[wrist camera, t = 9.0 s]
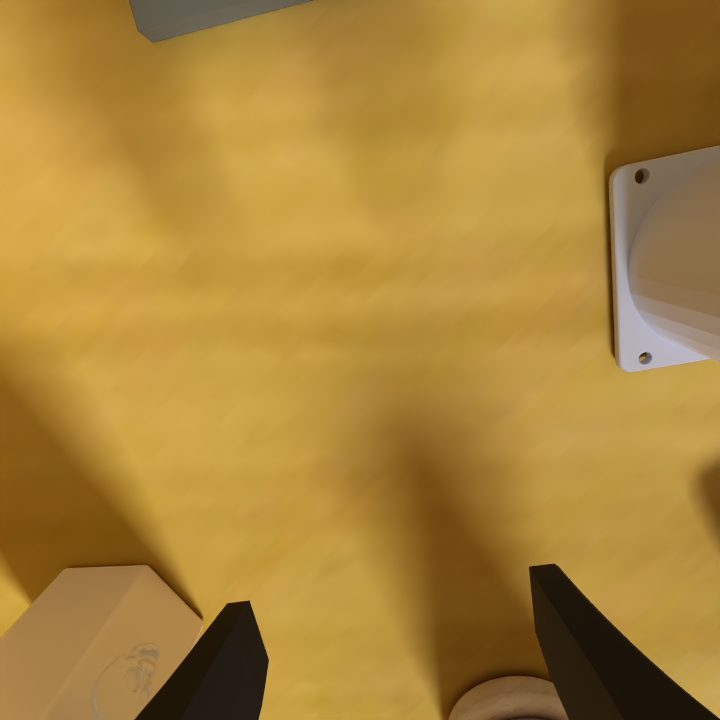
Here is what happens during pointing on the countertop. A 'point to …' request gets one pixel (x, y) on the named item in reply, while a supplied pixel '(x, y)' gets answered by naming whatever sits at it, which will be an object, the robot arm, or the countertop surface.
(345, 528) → the countertop surface
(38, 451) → the countertop surface
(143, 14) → the post board
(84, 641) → the jar
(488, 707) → the stacking toy
